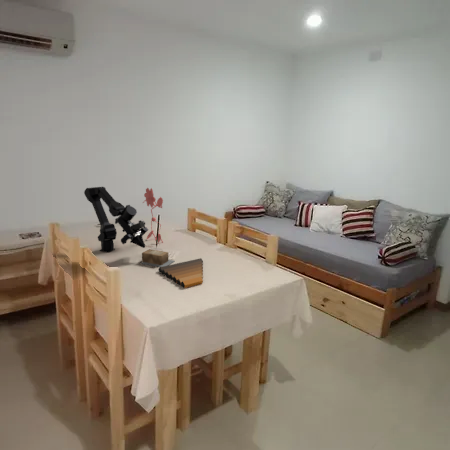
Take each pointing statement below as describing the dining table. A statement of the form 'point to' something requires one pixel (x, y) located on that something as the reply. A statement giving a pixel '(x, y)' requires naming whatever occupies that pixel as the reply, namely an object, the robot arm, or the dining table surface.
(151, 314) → the dining table surface
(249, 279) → the dining table surface
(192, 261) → the pan flute
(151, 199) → the red flower sculpture
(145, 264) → the felt mat
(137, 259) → the dining table surface
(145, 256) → the walnut block
